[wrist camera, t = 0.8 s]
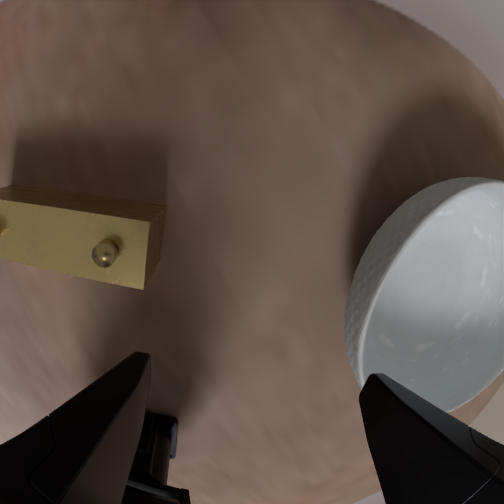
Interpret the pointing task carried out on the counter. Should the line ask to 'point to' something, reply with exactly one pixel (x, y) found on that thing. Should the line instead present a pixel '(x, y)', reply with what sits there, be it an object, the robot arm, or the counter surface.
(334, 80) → the counter surface
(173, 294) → the counter surface
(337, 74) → the counter surface
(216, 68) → the counter surface
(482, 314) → the cereal bowl
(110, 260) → the brass block with pegs
